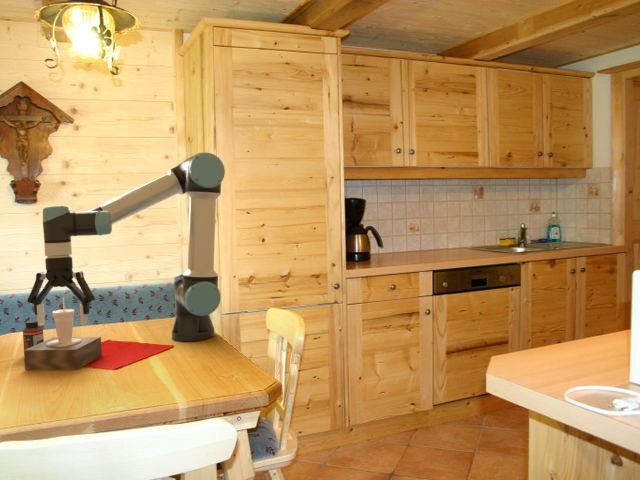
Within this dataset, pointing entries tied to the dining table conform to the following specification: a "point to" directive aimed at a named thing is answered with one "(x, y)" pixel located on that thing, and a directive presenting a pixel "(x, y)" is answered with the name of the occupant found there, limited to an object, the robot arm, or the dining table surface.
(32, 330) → the supplement bottle
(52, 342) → the stand
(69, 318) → the white drink cup
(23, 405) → the dining table surface
